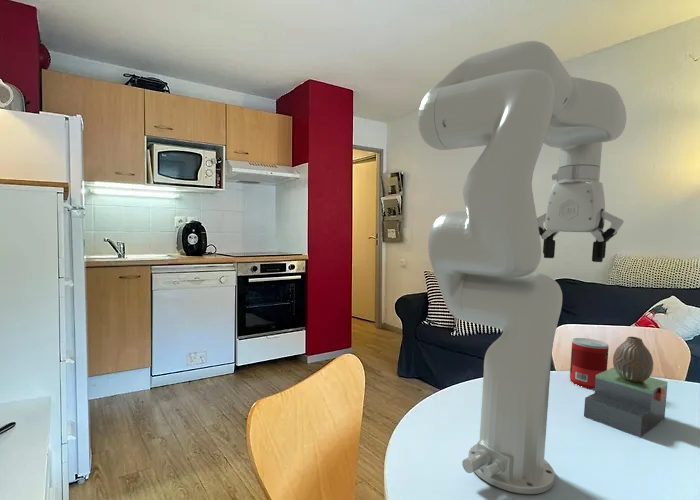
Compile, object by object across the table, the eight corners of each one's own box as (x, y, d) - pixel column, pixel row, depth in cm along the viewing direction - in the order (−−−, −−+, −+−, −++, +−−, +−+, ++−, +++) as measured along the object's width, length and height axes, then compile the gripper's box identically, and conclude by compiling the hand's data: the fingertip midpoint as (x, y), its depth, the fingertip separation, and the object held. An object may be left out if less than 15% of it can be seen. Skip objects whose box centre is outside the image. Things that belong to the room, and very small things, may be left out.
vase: (612, 370, 88) (615, 331, 88) (651, 378, 84) (654, 337, 84) (611, 379, 83) (614, 337, 82) (652, 388, 79) (656, 344, 78)
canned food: (611, 391, 97) (614, 347, 97) (575, 387, 99) (578, 344, 98) (598, 380, 105) (601, 339, 104) (565, 377, 106) (568, 336, 106)
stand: (645, 439, 74) (649, 397, 74) (583, 416, 83) (586, 378, 82) (669, 420, 82) (672, 383, 82) (611, 401, 91) (613, 367, 91)
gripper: (528, 178, 87) (522, 256, 87) (618, 170, 73) (610, 263, 73) (546, 182, 91) (541, 257, 92) (634, 176, 77) (626, 263, 78)
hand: (571, 259), depth 82 cm, fingers open, 9 cm apart
